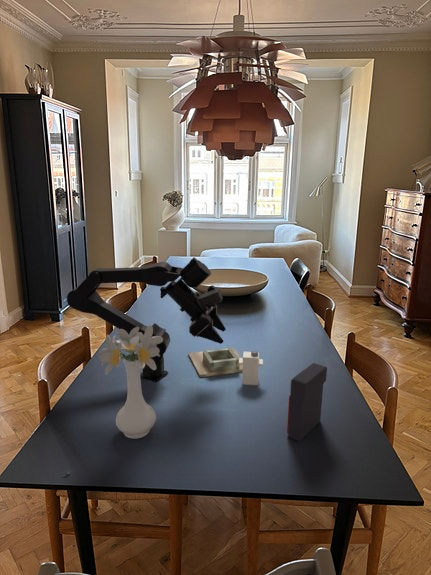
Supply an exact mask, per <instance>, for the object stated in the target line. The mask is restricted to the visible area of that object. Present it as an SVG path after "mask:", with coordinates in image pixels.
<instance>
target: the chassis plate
mask: <svg viewBox="0 0 431 575" xmlns="http://www.w3.org/2000/svg"><path fill="white" fill-rule="evenodd" d="M188 358H189V359H190V361H191V363H192V365H193V367H194V369H195V371H196V373H197V374H198V376H199V378H204V377H212V376H219V375H227V374H229V375H230V374H234V373H242V372H243V365H242V364H239V358H243V356H241V355H240V354H239V353H238V351H237V350H236V349H235V347H228V348H227V347H226V348H220V349H208V350H203V351H195V352H188Z"/></svg>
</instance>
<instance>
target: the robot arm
mask: <svg viewBox="0 0 431 575" xmlns="http://www.w3.org/2000/svg"><path fill="white" fill-rule="evenodd" d="M211 275H212V272H211V270H210V269H209V268H208V267H207V265H206V264H205V263H203V262H202V261H200V260H199V259H197V258H196V257H195V256H194V257H192V258H191V259H190V260H189V262H188V263H187V264H186V265H185V266H184V267H178V266H173V265H171V264H170V263H169V262H167V261H160V262H159V261H158V262H155V263H151V264H150V263H149V264H147V265H144V266H136V267H115V268H114V267H110V268H109V267H107V268H103V267H97V268H94V269H93V270H92V271H90V272H89V274H88V276H86V278H85V279H84V280H83V281H82V282H81V283H80V284H79V285H78V286H77V287H75V288H73V289H72V290H71V291H69V292H68V294H67V296H66V302H67V305H68V307H70V308H71V309H73V310H76V311H78V312H81V313H84V314H89V315H94V316H96V317H98V318H100V319H101V320H102V321H104V322H106V323H108V324H110V325H111V326H113V327H115V328H117V329H118V330H119V329H123V330H125V331H126V332H127V333H128V335H129V334H130V332H131V331H132V329H134V328H135V327H139V331H138V332H141V333H142V334H143V335H144V334H145V331H146V328H147V327H148V326H149V325H146V324H145V325H144V324H143V323H141V322H140V321H138V320H137V319H135V318H133V317H132V316H130V315H128V314H127V313H125V312H123V311H122V310H120V309H118V308H116V307H114V306H113V305H111V304H110V303H108V302H106V301H105V300H103V298H102V297H101V295H100V293H99V292H97V290H98V289H99V288H100V286H101V284H117V283H118V284H121V283H122V284H123V283H141V284H145V285H148V286H154V287H160V289H159V290H160V295H159V296H160V298H161V299H163V298H164V297H166V296H169V297H170V298H171V299H172V301H173V302H175V303H176V304H177V306H179V307H180V308H179V311H180V312H181V313H184V312H185V313H186V315H188V317H190V319H189V320H190V325H189V329H188V333H189V334H190V335H192V337H196V338H199V337H200V338H203V339H206V340H208V341H211V342H214V343H218V344H220V345H221V344H223V343H224V339H223V337H221V335H220V334H219V333H218V331H217V330H220V331H221V332H225V331H227V329H226V326H225V325H224V323H223V322H222V320H221V318H220V316H219V314H218V312H217V311H218V304H220V303H221V302H222V301H223V299H224V297H223V295H222V293H221V289H219V287H218V286H217V287H216V286H215V285H213V284H211V285H209V286H208V287H207V291H205V292H204V293H202V294H201V293H200V292H198V291H196V292H194V291H193V290H192V289H194V288H198V287H200V285H202V284H203V283H204V282H205V281H206V280H207V279H208V278H209V277H210V276H211ZM168 283H169V284H168ZM165 285H166V286H165ZM151 326H152V327H153V334H152V336H151V337H153V336H160V337H162V338H163V342H161V343H160V344H156V346H157V348H159V355H160V356H157V355H156V356H154V357H150V358H151V359H153V361H154V362H155V364H156V370H153V369H151V368H150V367H149V366H148V365H147V364H146V363H145V367H144V368H143V369H141V370H142V372H140V379H143V380H147V381H148V380H149V381H152V382H158V381H159V380H160V379H162V378H163V377H165V376H167V374H169V372H168V371H167V370H165V360H164V359H165V358H164V354H165V353H166V352H167V350H168V347H169V345H170V344H171V337H170V334H169V333H168V332H167V331H166V330H167V329H166V328H163V327H161V326H160V325H158V323H157V324H156V323H155V322H154V323H153V324H152V325H151ZM216 329H217V330H216ZM151 337H150V338H151Z"/></svg>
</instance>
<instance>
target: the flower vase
mask: <svg viewBox="0 0 431 575" xmlns="http://www.w3.org/2000/svg"><path fill="white" fill-rule="evenodd" d="M147 326H148V327H147V328H146V331H145V334H144V335H143V334H142V333H141V332H138V331H139V327H135V328H134V329H132V331H131V332H130V334H129V335H128V333H127V332H126V331H125V330H123V329H118V330H117V336H118V337H119V339H116V335H113V337H112V338H111V336H110V334H107V335H106V336H105V346H106V347H104V348H102V349H100V350H99V352H98V353H97V357H99V358H100V359H99V360H100V362H101V364H100V366H101V367H103V366H104V365H105V364H106V363H107V365H106V367H105V369H104V375H105V376H106V375H109V373H110V372H111V371H112V370H113V368H114V367H115V368H119V367H120V365H121V360H122V362H123V364H124V366H125V370H126V380H127V381H126V383H127V393H126V395H127V396H126V401H125V403H124V405H123V406H122V407H120V409H119V411H118V412H117V414H116V416H115V424H116V428H118V430H119V431H120V432H122V434H123V435H124V437H126V438H129V439H134V440H137V439H140V438H141V439H142V438H144V437H146V436H147V435H148V434H149V433H150V430H151V429H152V428H153V427H154V425H155V423H156V420H157V414H156V412H155V409H153V407H152V406H151V405H150V404H149V403H147V402H146V400H145V398H144V396H143V391H142V380H141V379H142V378H141V377H140V374H141V370H142V369H143V368H144V367H145V363H146V364H147V365H148V366H149V367H150V368H151V369H153V370H156V364H155V362H154V361H153V359H151V358H150V357H154V356H156V355H157V356H160V355H159V348H157V346H156V344H160V343H161V342H163V338H162V337H160V336H153V337H151V336H152V334H153V327H152V325H151V324H150V325H147ZM150 337H151V338H150ZM121 351H124V352H127V354H125V353H123V352H121Z"/></svg>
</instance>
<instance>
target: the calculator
mask: <svg viewBox="0 0 431 575" xmlns="http://www.w3.org/2000/svg"><path fill="white" fill-rule="evenodd" d="M327 372H328V367H327V366H325V365H321V364H319V363H314V362H313V363H312V364H310V365H309V366H307V367H306V368H304V369H303V370H302V371H300V372H299V373H298V374H296V375H295V376H294V377H292V378H291V379H290V388H289V390H290V391H289V396H288V408H287V409H288V411H287V428H286V433H287V436H288V438H290V439H293V440H295V441H298V442H301V441H302V440H303V439H304V437H305V436H307V435H308V434H309V433H310V432H311V431H312V430H313V429H314V428H315V427H316V426H317V425H318V424H319V423H320V422H321V417H322V403H323V392H324V391H323V390H324V383H325V382H327Z"/></svg>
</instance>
